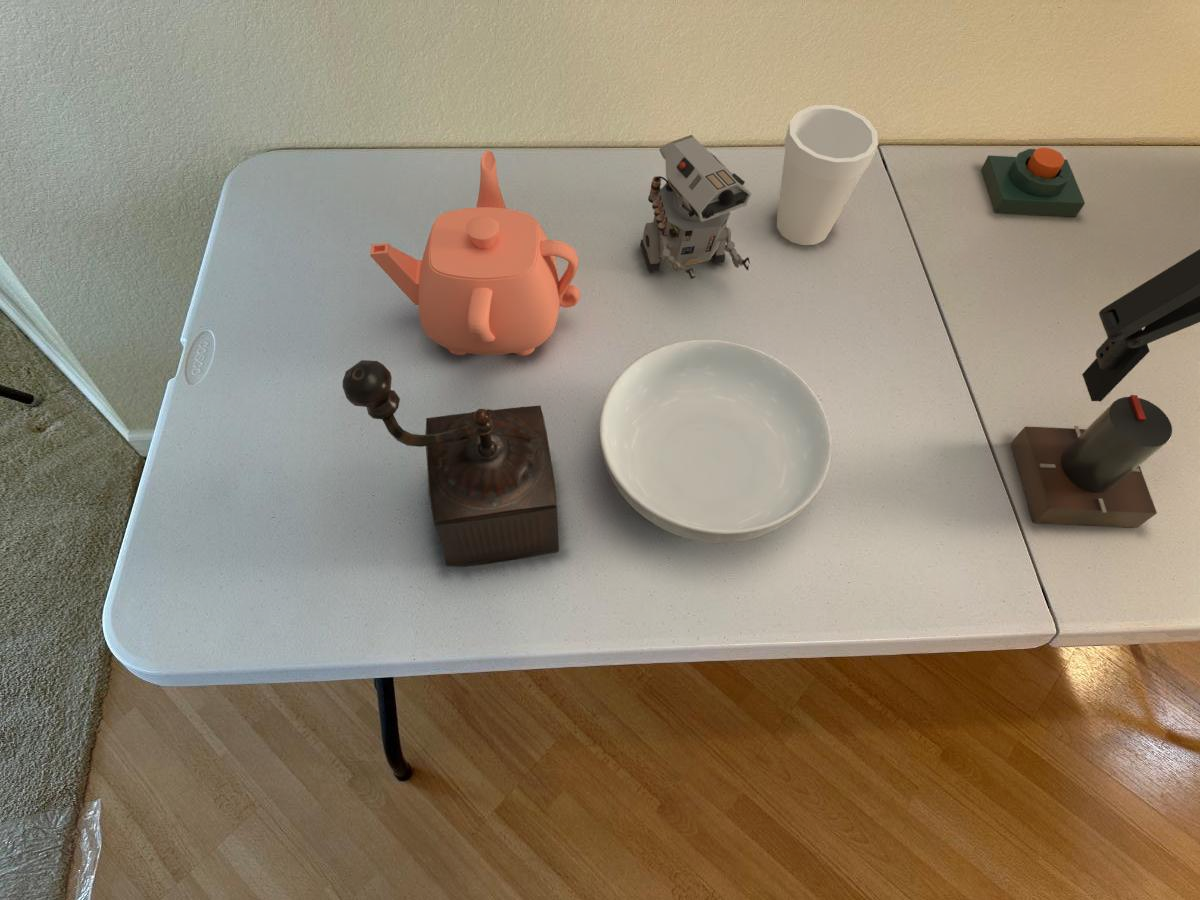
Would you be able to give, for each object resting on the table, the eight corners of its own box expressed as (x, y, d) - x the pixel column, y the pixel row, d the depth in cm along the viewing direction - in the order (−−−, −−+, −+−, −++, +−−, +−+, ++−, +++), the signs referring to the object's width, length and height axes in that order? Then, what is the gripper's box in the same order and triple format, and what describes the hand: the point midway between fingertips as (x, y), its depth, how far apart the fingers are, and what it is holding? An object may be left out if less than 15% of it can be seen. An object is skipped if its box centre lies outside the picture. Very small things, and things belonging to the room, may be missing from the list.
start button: (1052, 160, 99) (1059, 148, 97) (1060, 180, 97) (1068, 168, 95) (1023, 158, 99) (1030, 146, 97) (1030, 178, 97) (1037, 166, 95)
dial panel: (1108, 445, 81) (1127, 428, 79) (1138, 529, 76) (1159, 514, 74) (1010, 440, 81) (1025, 423, 78) (1033, 525, 76) (1050, 509, 73)
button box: (1058, 173, 103) (1075, 147, 100) (1075, 217, 99) (1093, 191, 95) (980, 169, 103) (994, 142, 99) (994, 213, 99) (1009, 186, 95)
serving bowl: (690, 347, 86) (699, 303, 80) (854, 466, 79) (877, 427, 73) (551, 467, 77) (550, 428, 72) (721, 612, 70) (735, 582, 65)
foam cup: (747, 224, 96) (771, 130, 85) (794, 188, 100) (823, 93, 89) (811, 267, 93) (844, 174, 82) (857, 228, 96) (895, 135, 85)
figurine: (661, 313, 88) (677, 206, 75) (636, 239, 94) (648, 128, 81) (740, 302, 90) (769, 195, 77) (711, 229, 95) (734, 119, 83)
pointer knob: (1125, 494, 75) (1183, 446, 68) (1069, 490, 75) (1121, 442, 68) (1109, 446, 77) (1163, 396, 70) (1055, 443, 77) (1104, 392, 70)
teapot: (384, 323, 86) (357, 226, 75) (496, 240, 93) (486, 141, 82) (492, 406, 81) (481, 316, 70) (601, 312, 88) (607, 216, 77)
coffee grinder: (544, 450, 78) (539, 330, 63) (561, 554, 73) (560, 449, 58) (382, 471, 77) (336, 352, 61) (386, 579, 71) (337, 478, 56)
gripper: (1573, 149, 50) (1306, 360, 68) (1170, 131, 50) (1011, 348, 68) (1652, 236, 46) (1347, 436, 64) (1215, 217, 46) (1033, 423, 64)
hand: (1174, 391), depth 66 cm, fingers open, 13 cm apart
